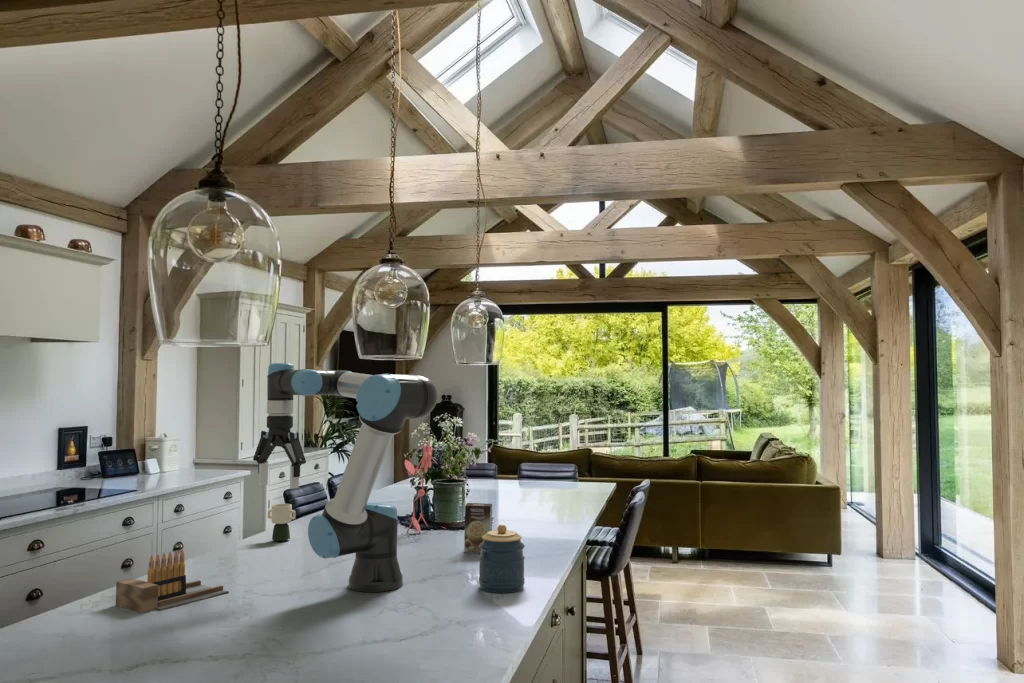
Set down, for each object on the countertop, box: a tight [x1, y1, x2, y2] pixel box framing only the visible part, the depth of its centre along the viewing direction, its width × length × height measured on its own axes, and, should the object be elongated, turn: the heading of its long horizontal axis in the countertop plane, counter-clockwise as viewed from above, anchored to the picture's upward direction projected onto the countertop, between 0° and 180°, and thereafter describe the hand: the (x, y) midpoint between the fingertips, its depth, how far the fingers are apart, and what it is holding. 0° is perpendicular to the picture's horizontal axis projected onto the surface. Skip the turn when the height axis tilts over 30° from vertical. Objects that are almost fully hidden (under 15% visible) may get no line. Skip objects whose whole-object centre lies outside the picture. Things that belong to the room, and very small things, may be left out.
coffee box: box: [463, 502, 493, 554], centre depth 259 cm, size 9×6×16 cm
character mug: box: [267, 503, 297, 542], centre depth 275 cm, size 11×7×13 cm, turn 80°
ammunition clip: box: [146, 549, 187, 601], centre depth 198 cm, size 11×2×12 cm, turn 148°
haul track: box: [115, 577, 229, 614], centre depth 200 cm, size 16×24×6 cm
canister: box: [478, 523, 526, 594], centre depth 212 cm, size 13×13×18 cm
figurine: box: [402, 441, 447, 535], centre depth 296 cm, size 15×26×35 cm, turn 168°
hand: (278, 486), depth 223 cm, fingers open, 13 cm apart
